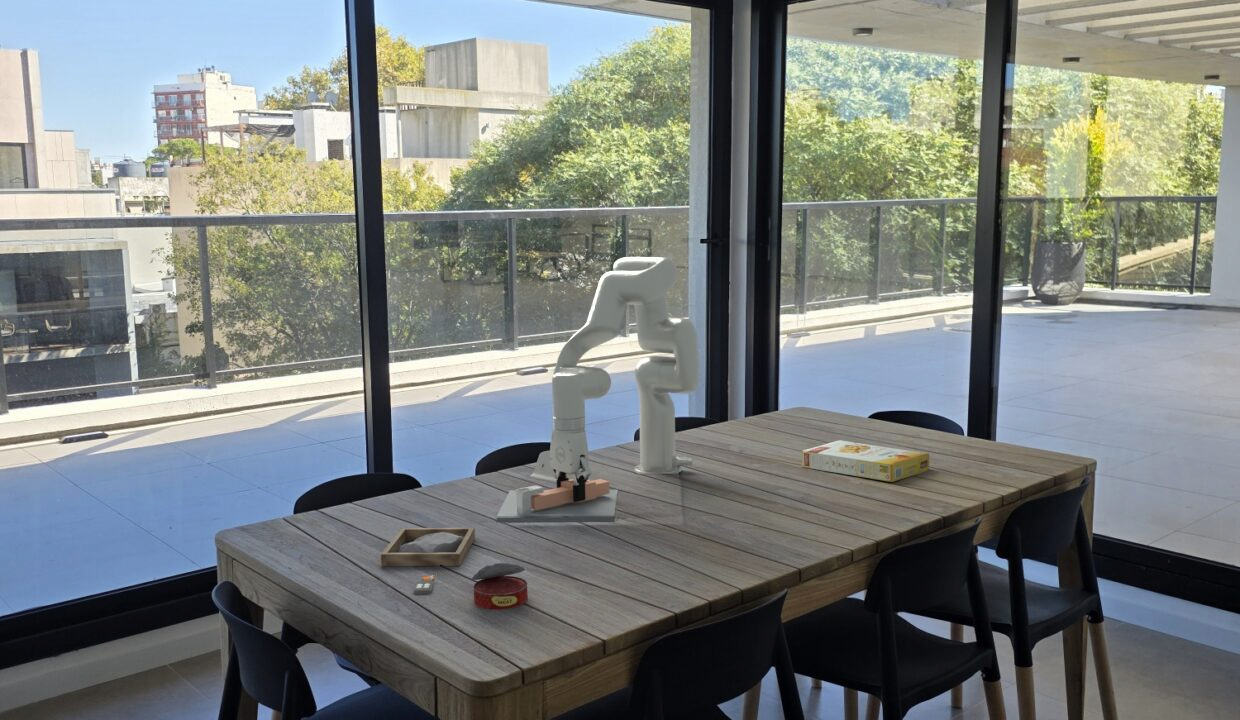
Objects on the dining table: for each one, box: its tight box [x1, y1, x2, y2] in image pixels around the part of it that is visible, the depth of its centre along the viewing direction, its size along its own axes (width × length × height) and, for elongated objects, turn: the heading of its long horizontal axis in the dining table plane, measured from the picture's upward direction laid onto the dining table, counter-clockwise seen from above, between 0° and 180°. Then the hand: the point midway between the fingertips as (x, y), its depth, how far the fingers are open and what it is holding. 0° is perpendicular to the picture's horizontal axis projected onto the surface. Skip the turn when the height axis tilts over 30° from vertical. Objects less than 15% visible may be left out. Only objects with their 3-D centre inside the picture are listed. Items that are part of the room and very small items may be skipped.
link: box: [531, 478, 610, 510], centre depth 256 cm, size 22×6×4 cm, turn 128°
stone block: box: [399, 532, 463, 553], centre depth 225 cm, size 12×5×10 cm
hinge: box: [529, 449, 590, 483], centre depth 280 cm, size 17×5×10 cm, turn 49°
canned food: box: [470, 562, 528, 611], centre depth 197 cm, size 11×10×10 cm
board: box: [496, 489, 619, 524], centre depth 257 cm, size 27×23×2 cm
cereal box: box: [801, 439, 930, 483], centre depth 291 cm, size 20×6×28 cm
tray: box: [380, 527, 476, 567], centre depth 226 cm, size 16×18×2 cm
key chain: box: [413, 574, 436, 595], centre depth 208 cm, size 13×4×2 cm, turn 3°
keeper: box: [515, 484, 544, 517], centre depth 249 cm, size 6×3×7 cm, turn 128°
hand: (571, 497), depth 256 cm, fingers closed on link, 5 cm apart
